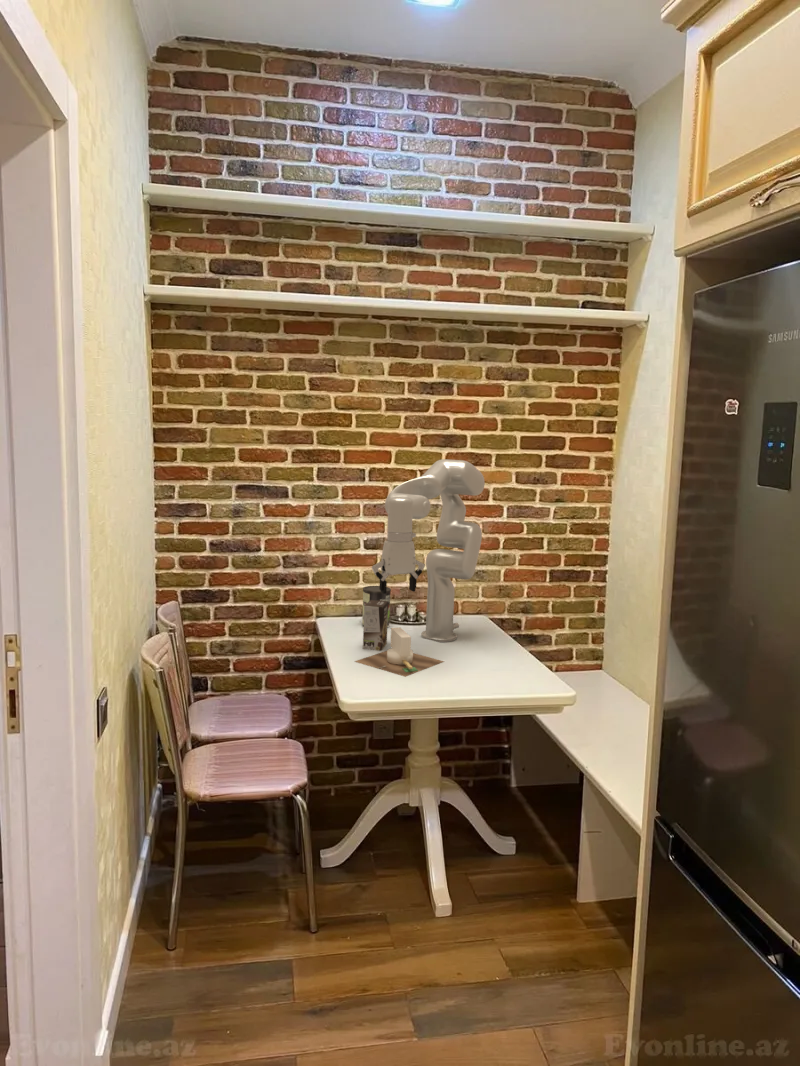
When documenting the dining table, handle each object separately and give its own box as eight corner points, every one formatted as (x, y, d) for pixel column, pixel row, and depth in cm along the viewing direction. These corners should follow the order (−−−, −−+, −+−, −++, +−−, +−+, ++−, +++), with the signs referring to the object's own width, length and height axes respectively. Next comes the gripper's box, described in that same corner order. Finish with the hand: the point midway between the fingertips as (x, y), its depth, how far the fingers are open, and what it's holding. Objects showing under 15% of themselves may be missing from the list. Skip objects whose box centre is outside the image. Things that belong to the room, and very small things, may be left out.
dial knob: (382, 655, 238) (383, 628, 237) (406, 654, 240) (407, 627, 239) (397, 672, 222) (399, 643, 221) (423, 671, 225) (424, 641, 223)
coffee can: (394, 625, 282) (396, 588, 280) (379, 630, 273) (380, 592, 271) (372, 620, 287) (373, 584, 285) (356, 625, 279) (357, 588, 277)
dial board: (394, 652, 248) (394, 647, 248) (444, 666, 236) (444, 660, 236) (354, 666, 233) (354, 660, 232) (405, 681, 220) (405, 676, 220)
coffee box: (381, 655, 244) (383, 606, 242) (362, 653, 246) (363, 605, 243) (387, 647, 253) (389, 600, 251) (368, 645, 254) (370, 599, 252)
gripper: (420, 534, 238) (418, 587, 241) (368, 536, 231) (367, 590, 234) (430, 538, 231) (428, 592, 234) (377, 540, 225) (376, 596, 227)
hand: (397, 591), depth 234 cm, fingers open, 9 cm apart
